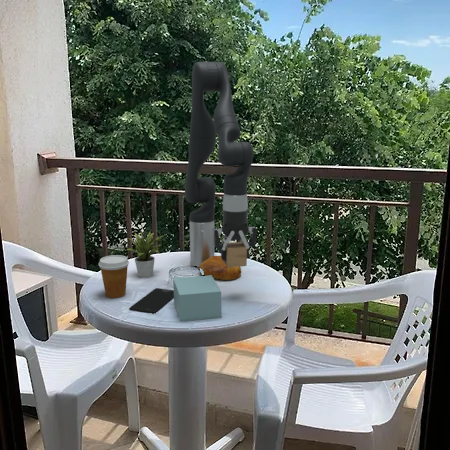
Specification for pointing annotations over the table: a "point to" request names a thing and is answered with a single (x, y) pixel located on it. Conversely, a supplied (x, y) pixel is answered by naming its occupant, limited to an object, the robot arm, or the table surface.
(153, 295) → the cell phone
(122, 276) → the disposable coffee cup
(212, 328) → the table surface
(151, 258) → the house plant
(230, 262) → the walnut cube
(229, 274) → the croissant
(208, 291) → the stand
